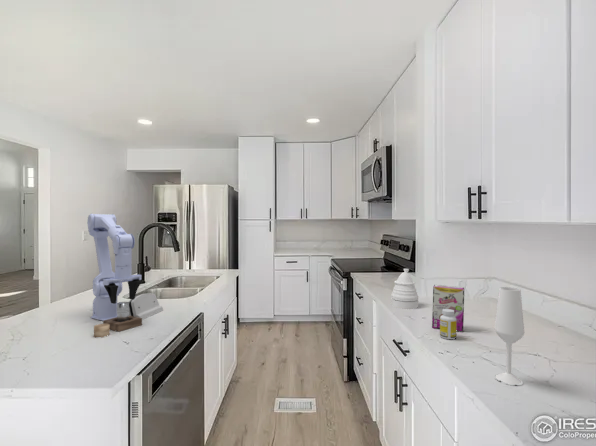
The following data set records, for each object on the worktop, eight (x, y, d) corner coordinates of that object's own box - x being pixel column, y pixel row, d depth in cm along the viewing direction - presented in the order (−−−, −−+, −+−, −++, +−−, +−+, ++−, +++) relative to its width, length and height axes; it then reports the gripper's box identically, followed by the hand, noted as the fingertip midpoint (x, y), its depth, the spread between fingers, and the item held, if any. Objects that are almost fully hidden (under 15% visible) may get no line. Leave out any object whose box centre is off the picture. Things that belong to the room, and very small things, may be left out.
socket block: (103, 327, 128) (103, 320, 128) (126, 321, 137) (126, 314, 137) (118, 331, 124) (118, 324, 124) (141, 324, 132) (141, 318, 132)
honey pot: (396, 301, 177) (396, 266, 177) (421, 305, 169) (422, 269, 169) (387, 306, 166) (387, 269, 166) (413, 310, 159) (414, 272, 159)
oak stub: (90, 336, 119) (90, 326, 119) (104, 332, 123) (104, 322, 123) (99, 338, 117) (99, 328, 117) (112, 334, 121) (112, 324, 121)
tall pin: (121, 328, 127) (121, 304, 127) (114, 326, 129) (114, 303, 129) (130, 325, 131) (131, 302, 131) (124, 324, 133) (124, 301, 133)
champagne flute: (490, 372, 94) (492, 285, 94) (518, 376, 92) (520, 287, 92) (497, 383, 87) (499, 290, 87) (527, 387, 85) (529, 292, 85)
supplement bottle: (455, 336, 124) (455, 309, 124) (457, 340, 119) (457, 312, 119) (439, 334, 126) (439, 307, 126) (440, 339, 121) (440, 311, 120)
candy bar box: (431, 328, 132) (432, 286, 132) (432, 324, 137) (433, 284, 137) (463, 332, 128) (464, 289, 128) (463, 329, 132) (464, 286, 132)
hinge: (139, 320, 138) (132, 297, 138) (130, 323, 139) (122, 300, 139) (163, 310, 154) (157, 289, 155) (155, 313, 155) (148, 292, 156)
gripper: (111, 268, 122) (111, 306, 122) (146, 264, 135) (146, 298, 135) (99, 267, 125) (99, 303, 125) (135, 263, 138) (134, 296, 138)
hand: (122, 301), depth 130 cm, fingers open, 7 cm apart
